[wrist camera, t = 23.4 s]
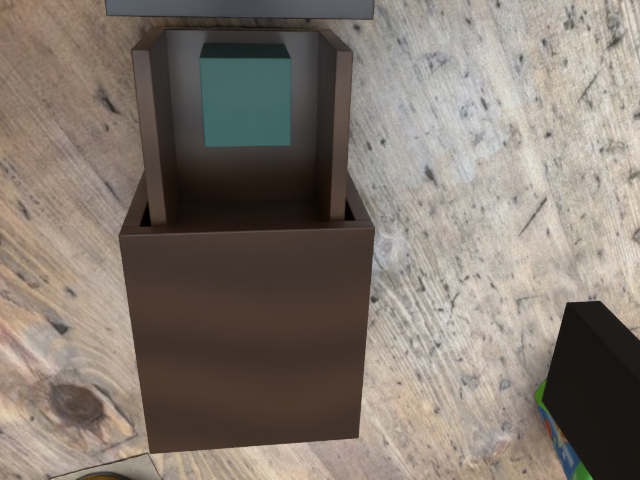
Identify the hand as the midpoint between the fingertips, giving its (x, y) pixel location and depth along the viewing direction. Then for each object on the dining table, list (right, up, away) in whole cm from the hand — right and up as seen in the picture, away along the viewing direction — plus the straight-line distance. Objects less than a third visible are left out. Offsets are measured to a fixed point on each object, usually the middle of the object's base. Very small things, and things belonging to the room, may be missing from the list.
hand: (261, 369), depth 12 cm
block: (-3, +12, +21) cm, 25 cm away
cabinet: (-4, +1, +29) cm, 29 cm away
